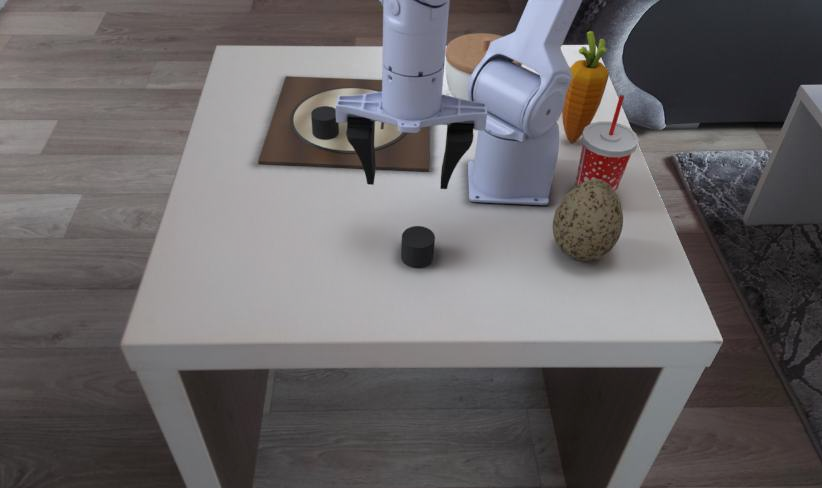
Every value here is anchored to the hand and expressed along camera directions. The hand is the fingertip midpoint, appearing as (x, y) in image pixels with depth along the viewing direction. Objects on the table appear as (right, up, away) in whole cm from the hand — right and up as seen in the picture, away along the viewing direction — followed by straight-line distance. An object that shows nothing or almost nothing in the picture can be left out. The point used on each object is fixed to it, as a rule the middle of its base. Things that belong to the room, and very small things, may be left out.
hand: (407, 181), depth 73 cm
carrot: (+23, +8, +20) cm, 32 cm away
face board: (-6, +12, +24) cm, 27 cm away
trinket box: (+12, +15, +28) cm, 34 cm away
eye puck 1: (-10, +9, +21) cm, 25 cm away
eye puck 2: (+1, -8, +4) cm, 9 cm away
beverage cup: (+23, -1, +11) cm, 26 cm away
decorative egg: (+19, -8, +4) cm, 21 cm away
